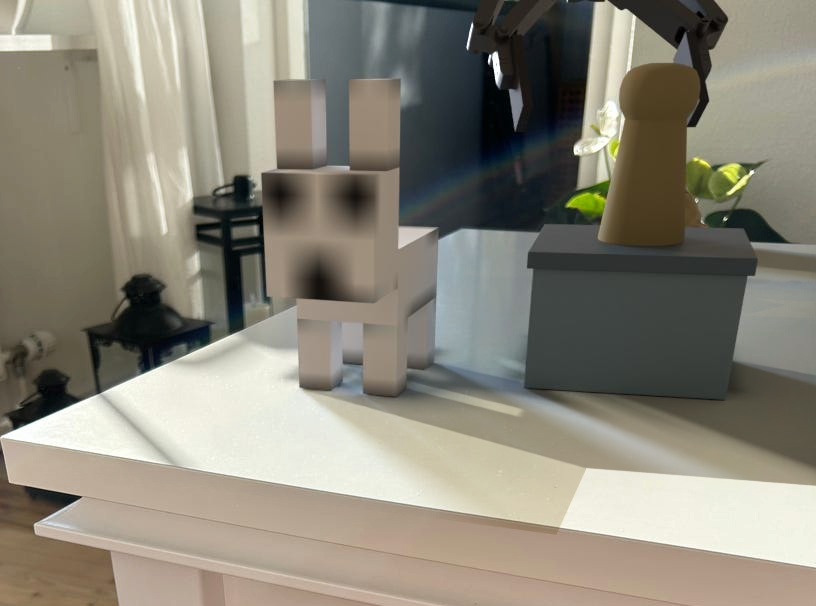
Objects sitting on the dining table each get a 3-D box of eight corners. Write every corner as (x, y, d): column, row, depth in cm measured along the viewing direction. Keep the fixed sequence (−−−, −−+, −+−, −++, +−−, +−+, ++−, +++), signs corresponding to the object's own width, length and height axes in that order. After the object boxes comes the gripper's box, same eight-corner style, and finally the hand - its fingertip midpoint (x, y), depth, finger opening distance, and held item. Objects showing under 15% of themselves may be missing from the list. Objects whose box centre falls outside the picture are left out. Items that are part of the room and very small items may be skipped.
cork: (647, 249, 70) (671, 64, 64) (579, 238, 74) (596, 64, 68) (702, 239, 73) (730, 61, 67) (634, 230, 77) (655, 62, 71)
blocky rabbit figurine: (442, 353, 83) (453, 73, 73) (373, 417, 69) (374, 80, 59) (356, 346, 86) (354, 74, 76) (272, 407, 71) (256, 81, 61)
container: (721, 355, 82) (744, 228, 77) (731, 402, 71) (758, 258, 66) (534, 345, 85) (544, 223, 80) (517, 389, 74) (527, 251, 70)
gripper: (703, -60, 88) (747, 147, 83) (416, -56, 86) (442, 156, 81) (741, -147, 81) (792, 74, 75) (429, -145, 79) (458, 81, 74)
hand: (611, 117), depth 78 cm, fingers open, 13 cm apart
